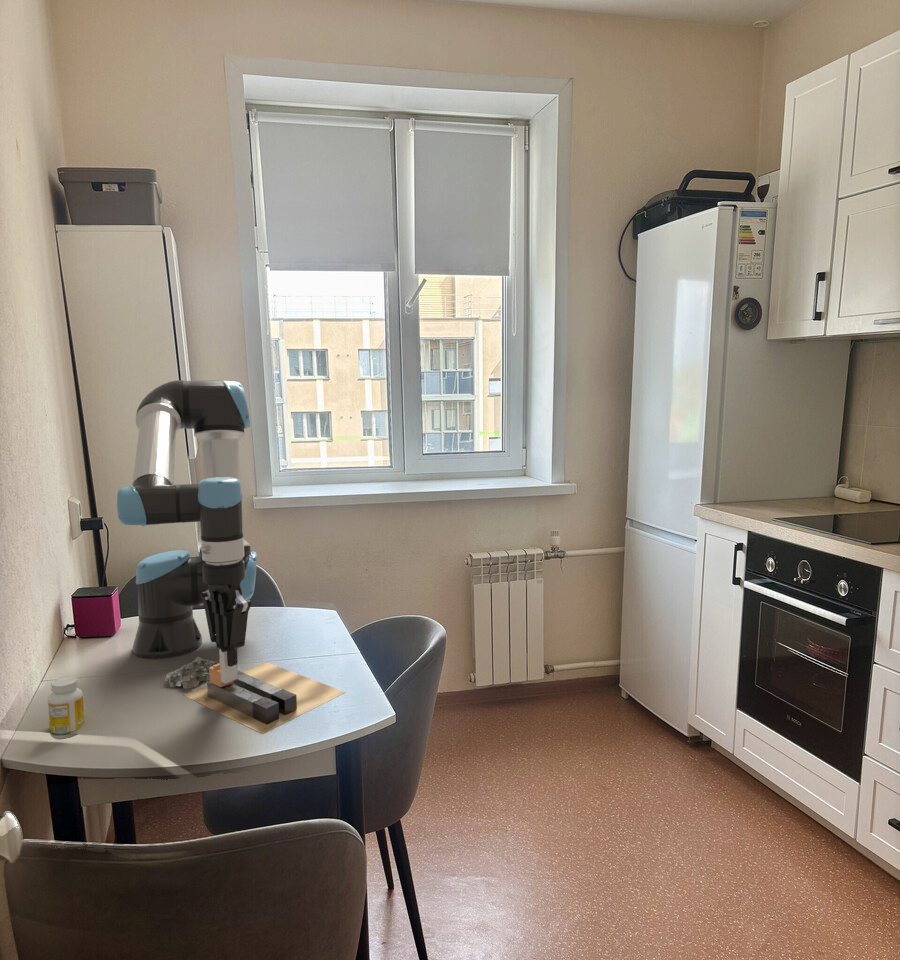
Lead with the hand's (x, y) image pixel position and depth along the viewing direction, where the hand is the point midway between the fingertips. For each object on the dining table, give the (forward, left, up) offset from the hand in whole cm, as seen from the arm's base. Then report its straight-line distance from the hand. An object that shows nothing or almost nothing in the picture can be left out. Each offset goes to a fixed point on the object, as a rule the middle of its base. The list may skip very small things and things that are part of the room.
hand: (229, 680), depth 124 cm
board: (+2, +6, -6) cm, 9 cm away
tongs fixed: (+2, +1, -4) cm, 5 cm away
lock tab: (-3, 0, -1) cm, 3 cm away
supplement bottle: (-16, -23, -6) cm, 28 cm away
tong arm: (+4, +4, -4) cm, 7 cm away
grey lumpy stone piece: (-16, +2, -6) cm, 17 cm away
